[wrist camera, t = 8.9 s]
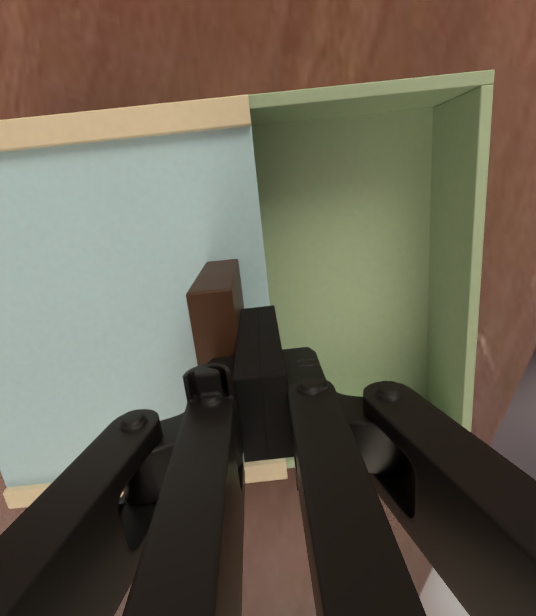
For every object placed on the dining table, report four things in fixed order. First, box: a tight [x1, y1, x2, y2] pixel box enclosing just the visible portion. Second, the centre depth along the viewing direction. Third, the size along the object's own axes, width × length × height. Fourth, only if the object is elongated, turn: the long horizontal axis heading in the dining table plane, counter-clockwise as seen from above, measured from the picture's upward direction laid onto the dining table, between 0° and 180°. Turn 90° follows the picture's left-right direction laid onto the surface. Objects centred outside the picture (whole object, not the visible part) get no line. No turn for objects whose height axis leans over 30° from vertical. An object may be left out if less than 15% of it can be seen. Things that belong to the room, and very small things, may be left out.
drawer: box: [0, 95, 288, 509], centre depth 17 cm, size 16×20×7 cm
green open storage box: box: [248, 70, 495, 468], centre depth 23 cm, size 16×20×6 cm
